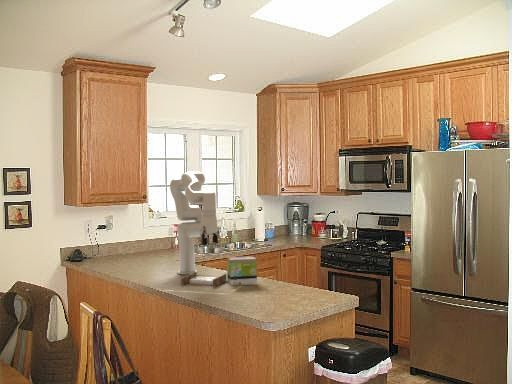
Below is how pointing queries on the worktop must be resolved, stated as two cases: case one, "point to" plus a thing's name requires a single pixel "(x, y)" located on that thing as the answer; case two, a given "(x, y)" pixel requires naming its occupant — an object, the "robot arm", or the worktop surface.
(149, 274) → the worktop surface
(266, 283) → the worktop surface
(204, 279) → the cover plate
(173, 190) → the robot arm
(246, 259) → the tea box
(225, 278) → the walnut case
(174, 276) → the worktop surface
